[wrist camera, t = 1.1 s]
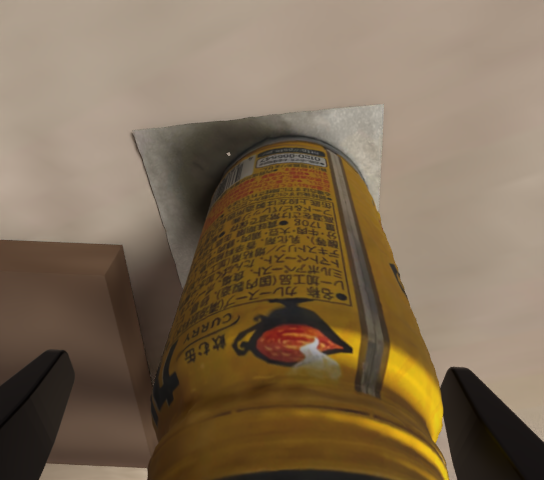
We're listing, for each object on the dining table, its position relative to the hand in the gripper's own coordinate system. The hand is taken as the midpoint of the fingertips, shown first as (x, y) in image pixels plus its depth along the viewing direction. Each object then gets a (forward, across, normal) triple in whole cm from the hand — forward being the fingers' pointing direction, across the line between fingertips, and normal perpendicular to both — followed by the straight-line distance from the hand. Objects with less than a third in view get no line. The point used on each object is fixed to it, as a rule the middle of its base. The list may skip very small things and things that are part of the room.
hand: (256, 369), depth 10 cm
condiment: (+8, 0, 0) cm, 8 cm away
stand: (+8, +12, +9) cm, 17 cm away
